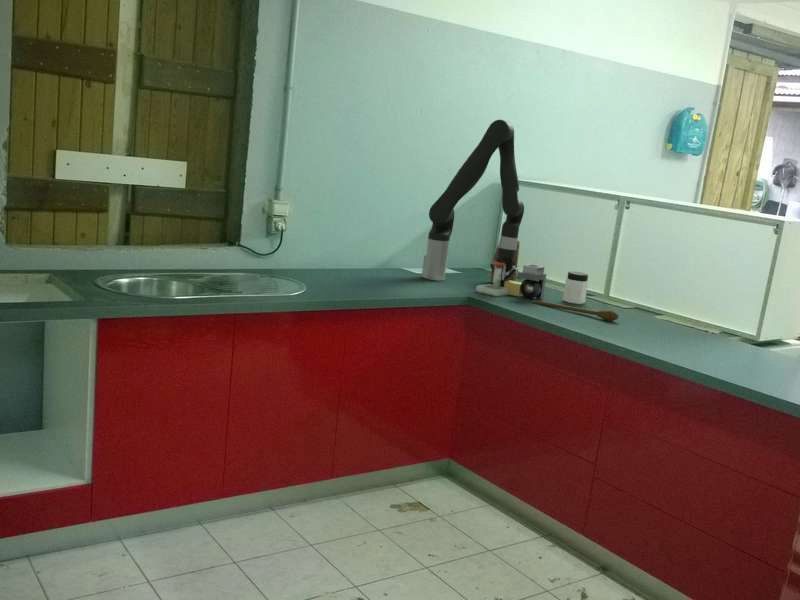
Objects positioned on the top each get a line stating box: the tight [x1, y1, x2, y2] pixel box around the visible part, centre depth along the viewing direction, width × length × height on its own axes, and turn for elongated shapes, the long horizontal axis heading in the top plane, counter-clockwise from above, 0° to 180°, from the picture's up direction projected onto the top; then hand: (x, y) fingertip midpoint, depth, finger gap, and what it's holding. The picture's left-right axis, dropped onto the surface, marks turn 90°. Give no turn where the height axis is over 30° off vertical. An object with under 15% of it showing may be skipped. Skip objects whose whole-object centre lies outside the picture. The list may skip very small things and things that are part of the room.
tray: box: [475, 283, 509, 297], centre depth 328 cm, size 10×10×2 cm
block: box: [490, 240, 521, 284], centre depth 351 cm, size 11×8×20 cm
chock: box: [504, 280, 524, 297], centre depth 331 cm, size 7×5×5 cm
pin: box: [492, 261, 505, 290], centre depth 329 cm, size 4×4×12 cm
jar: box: [562, 271, 589, 305], centre depth 329 cm, size 9×8×12 cm
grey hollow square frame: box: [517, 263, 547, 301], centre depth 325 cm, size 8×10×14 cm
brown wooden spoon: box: [532, 299, 619, 323], centre depth 307 cm, size 5×35×5 cm
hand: (501, 287), depth 335 cm, fingers closed
